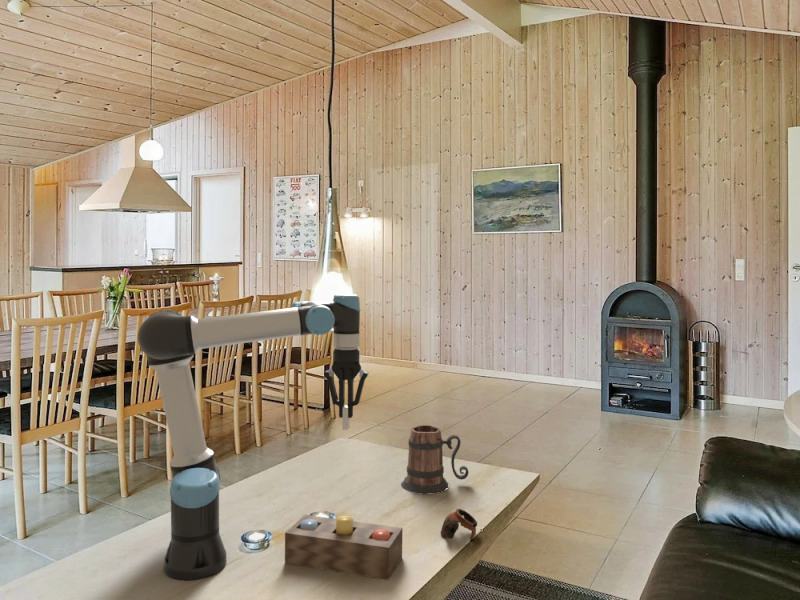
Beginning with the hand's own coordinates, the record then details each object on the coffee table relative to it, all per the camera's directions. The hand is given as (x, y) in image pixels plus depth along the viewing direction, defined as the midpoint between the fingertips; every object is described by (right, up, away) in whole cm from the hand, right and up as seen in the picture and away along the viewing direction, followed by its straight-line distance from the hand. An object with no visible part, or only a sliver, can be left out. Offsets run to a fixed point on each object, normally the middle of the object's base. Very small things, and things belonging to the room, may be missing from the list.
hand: (345, 428), depth 182 cm
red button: (+11, -27, -21) cm, 36 cm away
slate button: (-8, -26, -16) cm, 32 cm away
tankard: (+28, -28, +37) cm, 54 cm away
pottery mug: (+32, -30, -4) cm, 44 cm away
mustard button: (+1, -24, -19) cm, 31 cm away
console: (+1, -31, -18) cm, 36 cm away
